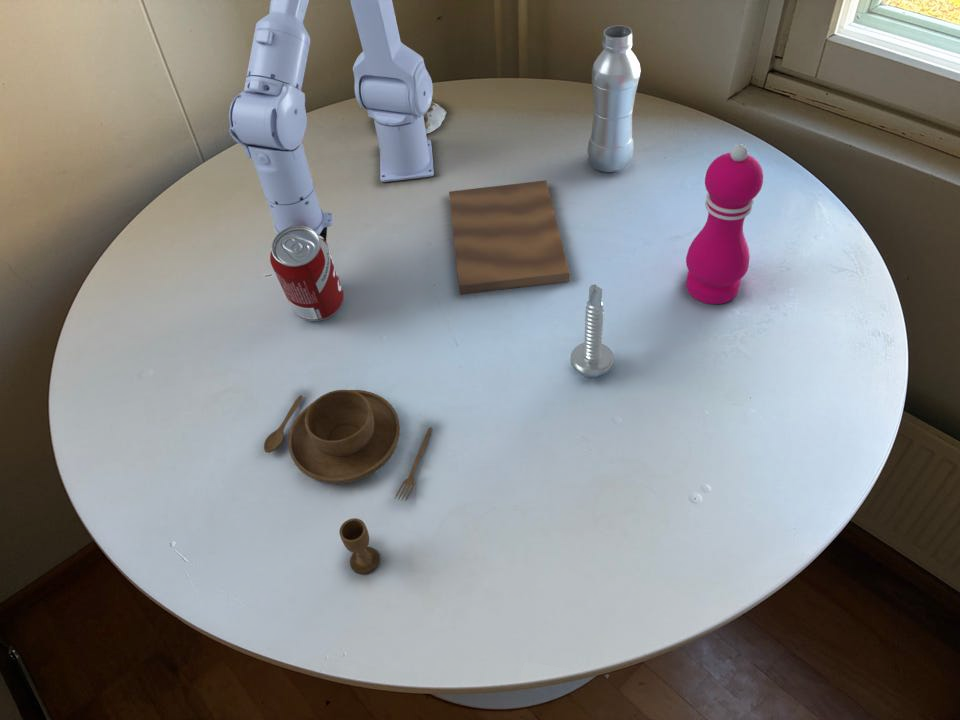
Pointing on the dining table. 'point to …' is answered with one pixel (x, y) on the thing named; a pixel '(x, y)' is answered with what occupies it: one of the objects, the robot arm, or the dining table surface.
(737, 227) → the pepper mill
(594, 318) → the screw
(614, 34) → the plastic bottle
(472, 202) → the cutting board
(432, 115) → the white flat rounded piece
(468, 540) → the dining table surface
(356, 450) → the place setting
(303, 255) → the soda can
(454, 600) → the dining table surface
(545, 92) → the dining table surface
